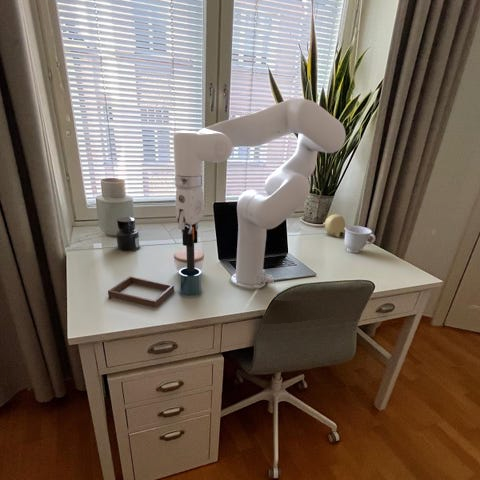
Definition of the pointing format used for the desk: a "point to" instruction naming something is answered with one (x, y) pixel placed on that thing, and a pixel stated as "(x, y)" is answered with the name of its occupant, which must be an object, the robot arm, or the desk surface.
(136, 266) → the desk surface
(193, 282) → the pen cup
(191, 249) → the marker
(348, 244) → the teacup
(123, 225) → the ink bottle
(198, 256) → the trinket box
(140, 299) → the desk tray
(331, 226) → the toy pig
